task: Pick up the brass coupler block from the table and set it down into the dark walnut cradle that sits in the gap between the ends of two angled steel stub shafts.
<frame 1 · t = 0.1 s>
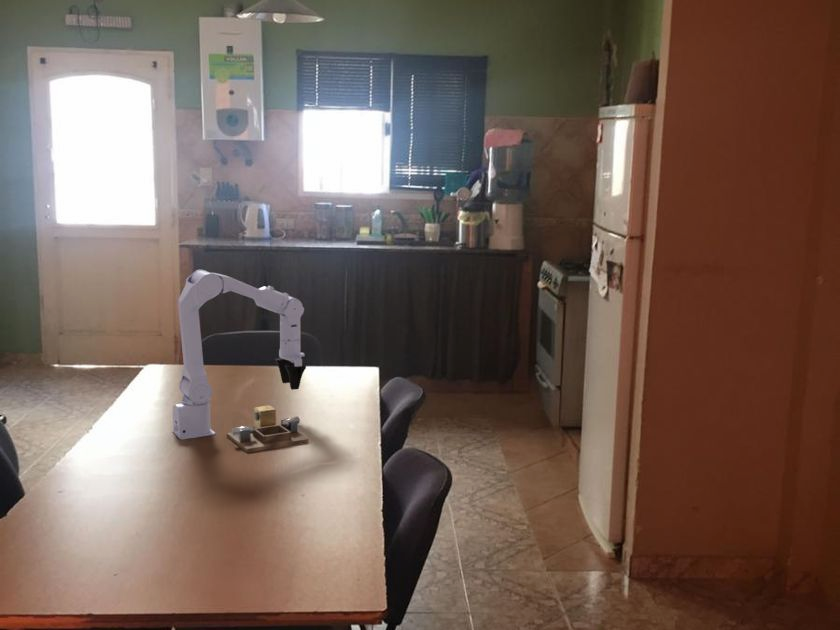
hand: (290, 385, 247), 10 cm above the table, fingers open, 7 cm apart
shaft left: (244, 443, 227), resting on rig
coupler: (265, 427, 241), on the table
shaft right: (289, 435, 234), resting on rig
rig: (267, 439, 231), on the table
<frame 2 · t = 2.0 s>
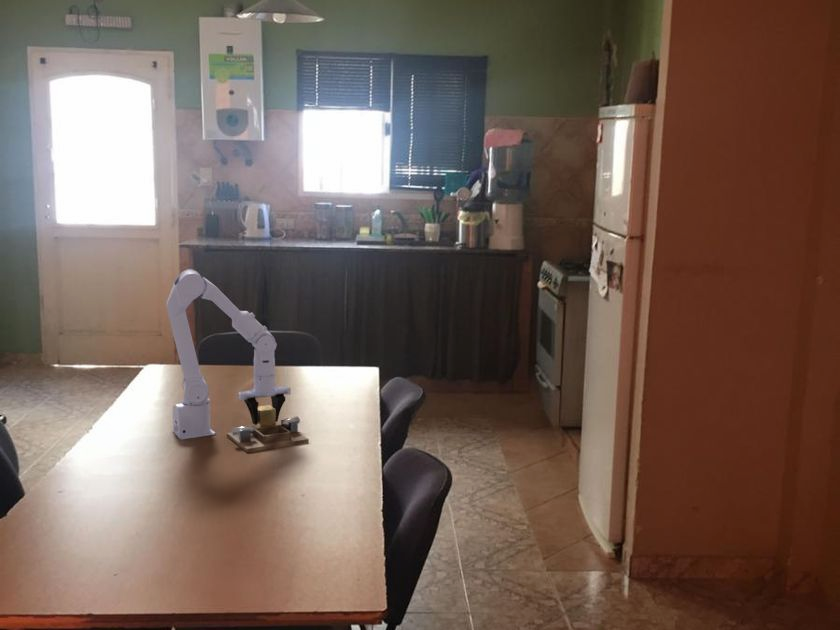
hand: (265, 422, 241), 1 cm above the table, fingers closed on coupler, 5 cm apart
coupler: (265, 427, 241), on the table, touching gripper
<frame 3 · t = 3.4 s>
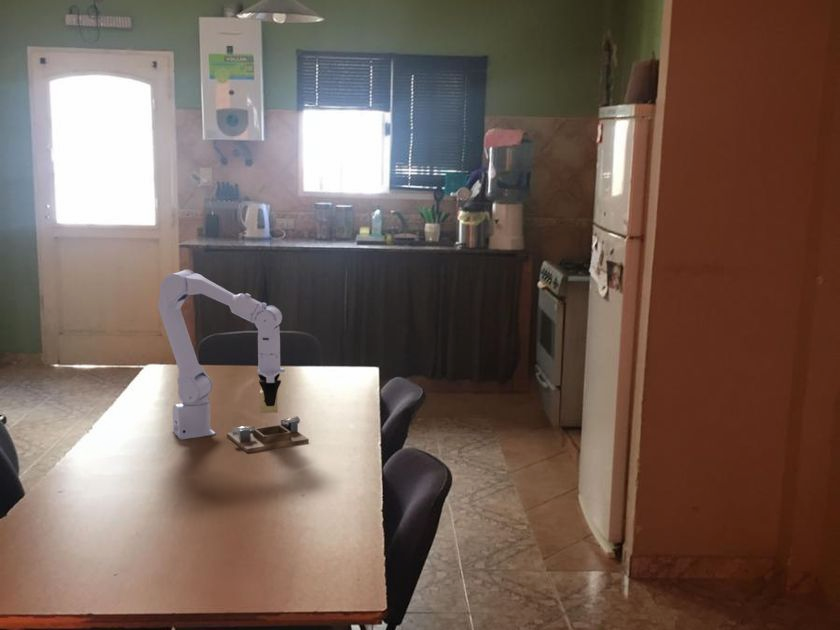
hand: (269, 402, 231), 9 cm above the table, fingers closed on coupler, 5 cm apart
coupler: (269, 409, 232), point 7 cm above the table, touching gripper
when the fingers open (4 cm above the table, at t = 5.2 s): coupler stays where it is, resting on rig.
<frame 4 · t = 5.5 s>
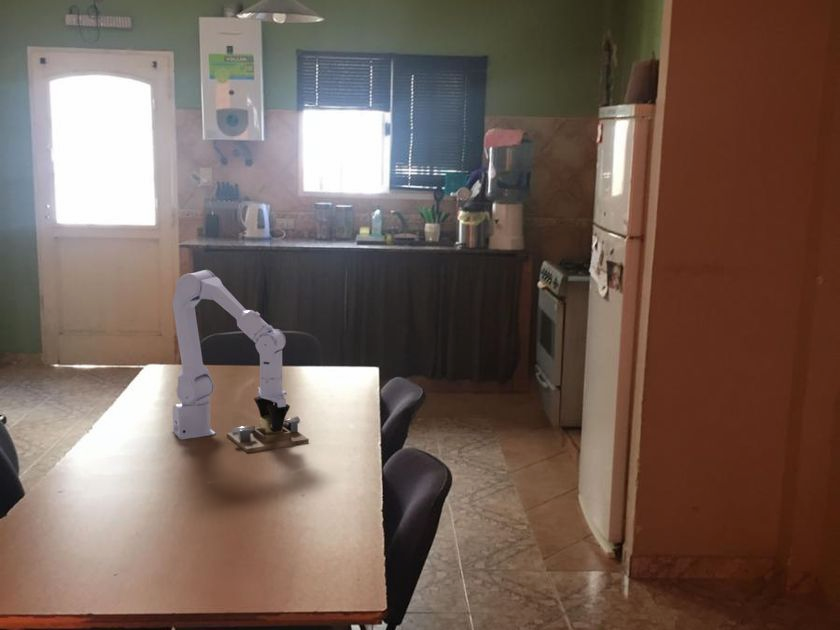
hand: (271, 427, 229), 4 cm above the table, fingers open, 7 cm apart
coupler: (271, 437, 229), point 1 cm above the table, touching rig
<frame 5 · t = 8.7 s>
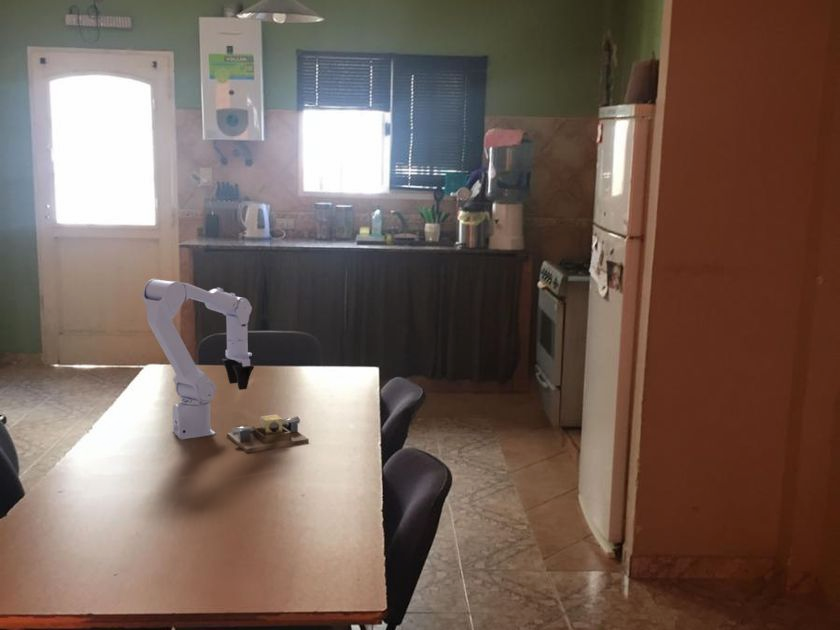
hand: (238, 386, 246), 10 cm above the table, fingers open, 7 cm apart
nothing on the table moved.
at the end: coupler 0.1 cm from the target spot on the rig, point 1.0 cm above the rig's base; coupler tilted 0°; the gripper is holding nothing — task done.
